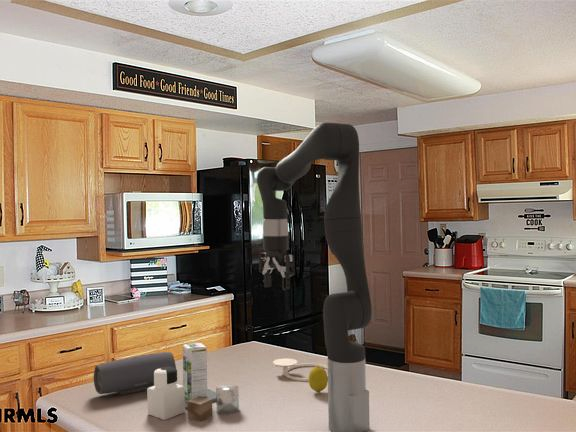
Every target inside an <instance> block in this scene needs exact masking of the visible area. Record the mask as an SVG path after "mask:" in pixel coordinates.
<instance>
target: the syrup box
mask: <svg viewBox="0 0 576 432" xmlns="http://www.w3.org/2000/svg"><path fill="white" fill-rule="evenodd" d="M207 348H208V347H207V346H205V345H204V344H203V343H202V342H191V343H185V344H183V345H182V386H184V387H185V396H186V398H187V399H188V400H191V399H194V398H196V397H198V396H201V397H207V389H208V352H207V351H208V350H207Z"/></svg>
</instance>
